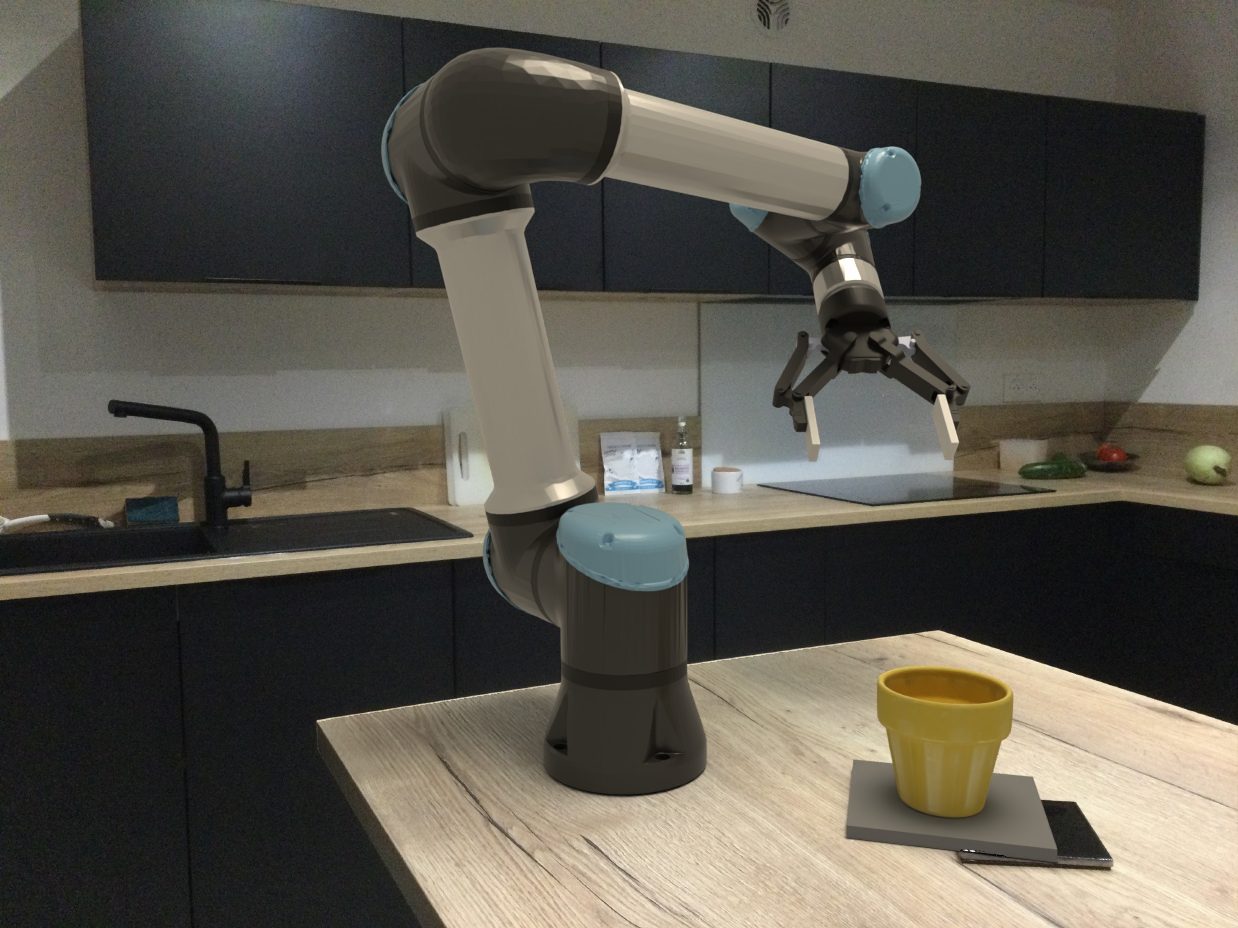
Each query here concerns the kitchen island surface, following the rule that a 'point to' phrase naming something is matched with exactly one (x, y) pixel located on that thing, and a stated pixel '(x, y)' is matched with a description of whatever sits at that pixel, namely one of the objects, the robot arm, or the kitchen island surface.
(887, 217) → the robot arm
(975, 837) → the trivet mat
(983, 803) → the plant pot
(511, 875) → the kitchen island surface
